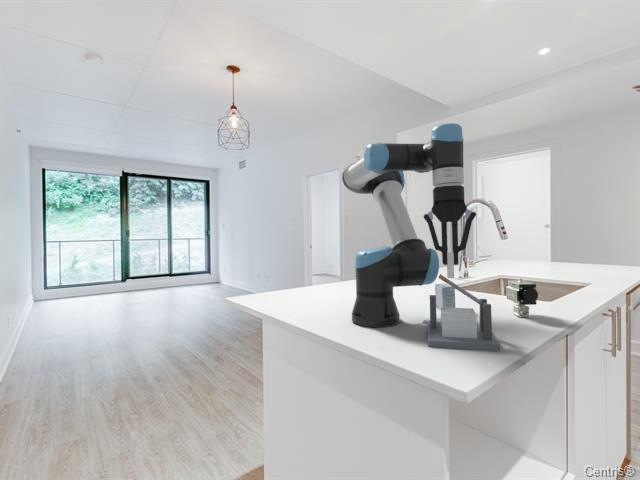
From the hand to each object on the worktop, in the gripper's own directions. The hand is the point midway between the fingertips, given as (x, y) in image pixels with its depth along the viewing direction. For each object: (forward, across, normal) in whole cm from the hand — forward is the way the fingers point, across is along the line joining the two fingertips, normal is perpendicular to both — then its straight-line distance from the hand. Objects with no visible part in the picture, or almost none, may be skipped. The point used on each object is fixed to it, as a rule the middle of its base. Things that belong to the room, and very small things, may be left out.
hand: (450, 277), depth 87 cm
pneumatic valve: (+16, +22, +27) cm, 39 cm away
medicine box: (+16, 0, +33) cm, 37 cm away
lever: (+4, +3, 0) cm, 5 cm away
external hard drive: (+17, -2, +19) cm, 26 cm away
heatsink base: (+16, +2, 0) cm, 16 cm away
